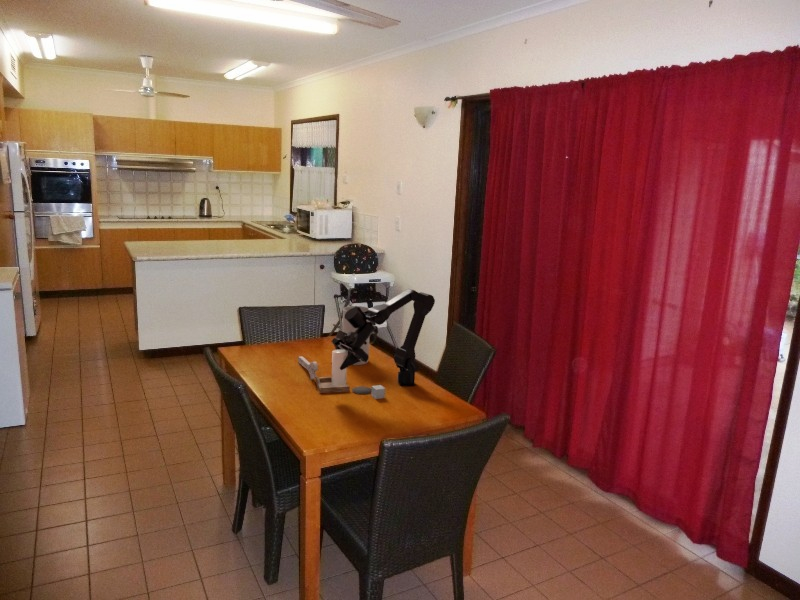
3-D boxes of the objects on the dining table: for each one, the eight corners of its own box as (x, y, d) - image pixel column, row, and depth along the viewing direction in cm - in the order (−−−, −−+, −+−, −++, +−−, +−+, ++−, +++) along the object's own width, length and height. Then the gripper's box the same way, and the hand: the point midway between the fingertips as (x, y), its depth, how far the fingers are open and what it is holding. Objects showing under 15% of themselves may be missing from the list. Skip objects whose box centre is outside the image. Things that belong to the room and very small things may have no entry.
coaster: (371, 387, 237) (371, 386, 237) (372, 394, 229) (372, 393, 229) (352, 387, 236) (352, 386, 236) (352, 394, 228) (352, 393, 228)
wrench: (302, 367, 264) (318, 382, 237) (298, 368, 264) (314, 382, 236) (301, 350, 264) (318, 363, 236) (297, 350, 263) (313, 363, 235)
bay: (344, 381, 243) (344, 376, 242) (349, 391, 231) (349, 386, 231) (315, 382, 239) (316, 377, 239) (319, 392, 228) (319, 387, 228)
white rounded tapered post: (346, 380, 224) (347, 349, 221) (346, 385, 219) (347, 354, 216) (331, 380, 224) (332, 349, 221) (331, 385, 218) (332, 353, 215)
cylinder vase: (373, 363, 267) (375, 310, 262) (349, 367, 260) (351, 313, 255) (359, 355, 277) (361, 305, 272) (336, 359, 270) (338, 307, 265)
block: (380, 394, 230) (381, 384, 229) (384, 398, 227) (385, 388, 226) (371, 395, 228) (371, 386, 228) (375, 399, 225) (375, 389, 224)
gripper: (335, 317, 226) (310, 348, 221) (363, 328, 212) (337, 362, 207) (352, 334, 232) (328, 364, 228) (379, 345, 218) (354, 378, 214)
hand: (336, 367), depth 219 cm, fingers closed on white rounded tapered post, 6 cm apart
